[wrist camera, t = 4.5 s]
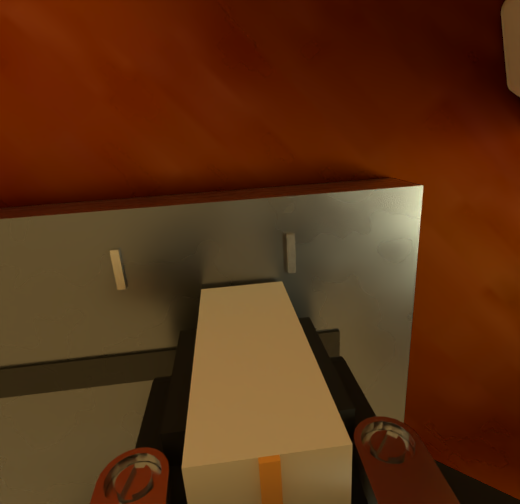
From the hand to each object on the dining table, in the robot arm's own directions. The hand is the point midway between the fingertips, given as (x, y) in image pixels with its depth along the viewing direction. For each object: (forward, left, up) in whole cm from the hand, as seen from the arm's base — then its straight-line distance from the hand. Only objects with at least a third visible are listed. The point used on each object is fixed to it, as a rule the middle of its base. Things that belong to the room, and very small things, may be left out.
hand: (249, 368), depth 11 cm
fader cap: (0, 0, -1) cm, 1 cm away
